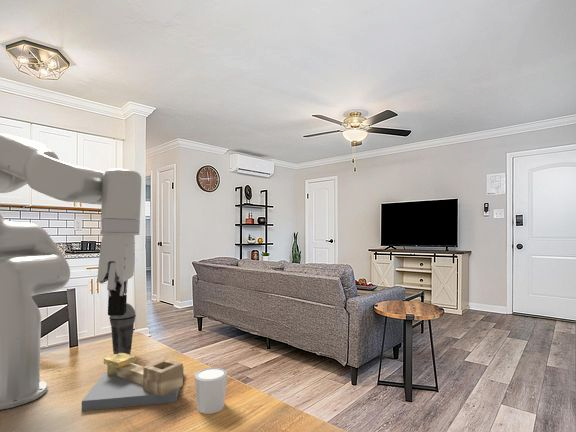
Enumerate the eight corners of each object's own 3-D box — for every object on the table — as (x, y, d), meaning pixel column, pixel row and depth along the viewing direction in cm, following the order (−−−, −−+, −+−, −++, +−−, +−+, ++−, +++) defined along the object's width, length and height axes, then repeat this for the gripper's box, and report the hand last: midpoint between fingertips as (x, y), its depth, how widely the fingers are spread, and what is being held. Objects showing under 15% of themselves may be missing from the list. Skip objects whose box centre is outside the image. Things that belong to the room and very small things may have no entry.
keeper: (99, 384, 85) (100, 357, 86) (117, 376, 89) (118, 351, 90) (117, 390, 82) (118, 362, 82) (135, 382, 86) (135, 356, 86)
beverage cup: (140, 354, 106) (141, 287, 106) (117, 361, 100) (118, 291, 100) (126, 349, 110) (127, 285, 110) (103, 356, 104) (104, 289, 104)
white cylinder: (219, 417, 70) (219, 381, 71) (188, 413, 72) (188, 378, 72) (231, 400, 77) (231, 368, 77) (202, 397, 78) (203, 366, 79)
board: (81, 410, 73) (81, 401, 73) (104, 380, 88) (105, 372, 88) (176, 401, 76) (176, 392, 77) (183, 374, 91) (183, 366, 91)
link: (111, 378, 84) (111, 357, 84) (133, 369, 89) (133, 349, 89) (161, 396, 75) (161, 372, 75) (182, 385, 80) (182, 363, 80)
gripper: (112, 227, 81) (108, 306, 80) (88, 227, 66) (84, 325, 66) (146, 228, 82) (143, 306, 82) (130, 228, 68) (126, 324, 67)
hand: (116, 314), depth 74 cm, fingers closed
